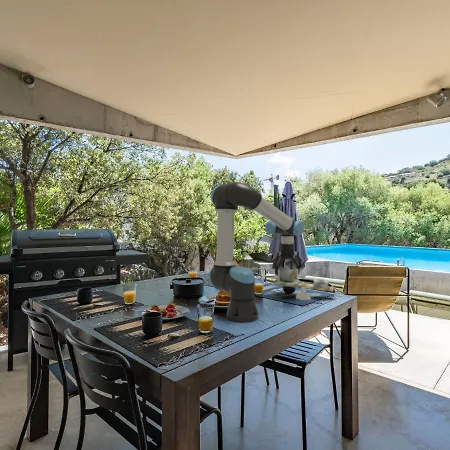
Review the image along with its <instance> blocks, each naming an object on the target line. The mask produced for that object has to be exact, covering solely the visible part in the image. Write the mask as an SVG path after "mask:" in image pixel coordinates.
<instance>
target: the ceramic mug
mask: <svg viewBox="0 0 450 450" xmlns="http://www.w3.org/2000/svg"><path fill="white" fill-rule="evenodd" d="M279 270H280V280H282V281H287V282H293V281H294V280H296V279H295V277H296V273H295V269H291V268H287V267H281V268H279Z"/></svg>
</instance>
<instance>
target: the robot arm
mask: <svg viewBox="0 0 450 450" xmlns="http://www.w3.org/2000/svg"><path fill="white" fill-rule="evenodd" d="M210 201H211V203H212V205H214V211H215V212H216V213H217V223H216V225H217V226H216V227H217V228H216V235H217V236H216V260H215V261H214V262H213V267H211V270H209V273H208V281H209V283H210V285H211V286H212V288H214V289H216V290H218V291H223V292H227V293H229V304H228V307H227V311H226V319H227V320H228V321H232V322H237V323H249V322H250V323H251V322H254V321H257V320H258V319H259V311H258V308H257V304H256V302H255V300H256V299H255V295H256V294H255V293H256V292H255V290H256V289H255V286H256V285H255V282H256V281H255V280H256V278H255V272H254V270H253V269H252V268H249V267H247V266H246V267H245V266H237V263H236V262H235V261H234V249H235V247H234V246H235V241H234V240H235V216H236V215H235V214H236V213H237V212H238V210H239V209H238V207H243V208H246V209H247V210H250V211H255V212H256V214H257V213H258V214H259V215H261V216H262V217H263V218H265V219H267V222H266V223H265V226H264V227H265V228H264V230H265V232H266V233H267V234H268V235H280V251H279V252H278V251H276V252H275V258H274V260H273V264H272V266H271V268H272V269H273V270H274V275H275V276H276V279H277V281H280V267H281V266H282V264H283V262H284V261H285V260H291V262H292V263H293V265H294V267H295V268H294V271H295V273H296V277H295V280H299V275H300V269H301V268H303V263H302V260H301V258H300V252H299V251H294V248H295V247H294V246H295V244H294V243H295V241H294V240H295V239H294V236H301V235H303V233H304V230H305V225H304V223H303V222H302V221H299V220H294V217H292V216H291V217H290V216H288V214H286V213H284V212H283V211H282V210H280V208H277V207H276V206H275V205H273V204H272V203H271V202H270V201H268V200H267V199H265V198H264V197H263V195H262V193H261V192H260V191H259V190H257V189H255V188H253V187H252V186H250V185H248V184H246V183H243V182H239V181H237V182H229V183H228V182H227V183H221V184H218V185H216V186H215V187H214V188H213V189H212V190H211V193H210ZM280 256H281V257H280ZM294 256H295V257H294ZM279 258H280V259H279Z"/></svg>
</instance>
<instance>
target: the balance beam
mask: <svg viewBox="0 0 450 450" xmlns="http://www.w3.org/2000/svg"><path fill="white" fill-rule="evenodd" d="M273 284H274V285H275V286H279V287H280V286H281V287H290V288H297V289H301V286H305V288H306V290H307V289H308V290H315V291H325V292H334V287H333V286H332V285H331V286H329V280H328V279H322V278H321V279H319V278H313V283H301V279H298V280H296V279H295V280H294V281H293V282H287V281H282V280H280V281H277V278H276V279H275V280H274V282H273Z"/></svg>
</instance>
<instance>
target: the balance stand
mask: <svg viewBox="0 0 450 450" xmlns="http://www.w3.org/2000/svg"><path fill="white" fill-rule="evenodd" d="M311 296H312V293H311V292H307V289H306V288H305V286H301V288H300V292H297V293H296V296H295V300H298V299H299V300H300V301H301V300H302V301H303V300H304V301H311Z"/></svg>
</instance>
